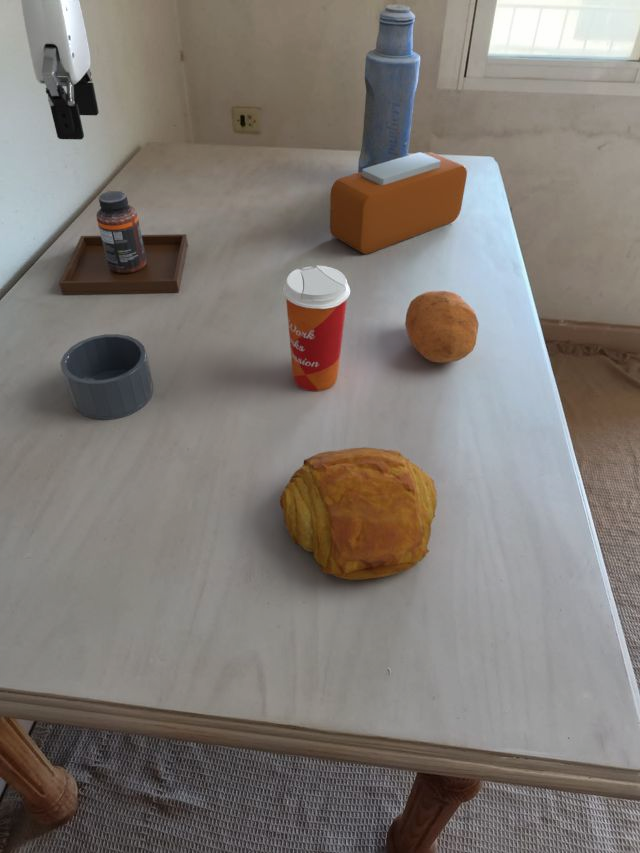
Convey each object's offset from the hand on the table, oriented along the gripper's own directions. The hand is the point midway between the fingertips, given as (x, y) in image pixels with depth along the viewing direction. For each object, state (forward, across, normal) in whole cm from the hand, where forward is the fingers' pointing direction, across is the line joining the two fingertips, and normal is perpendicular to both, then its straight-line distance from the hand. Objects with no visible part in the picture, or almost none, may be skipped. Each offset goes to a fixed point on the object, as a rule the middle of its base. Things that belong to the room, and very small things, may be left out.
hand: (79, 126), depth 83 cm
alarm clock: (+21, -14, +47) cm, 54 cm away
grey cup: (+22, +29, +5) cm, 37 cm away
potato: (+21, +23, +47) cm, 57 cm away
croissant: (+22, +52, +33) cm, 65 cm away
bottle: (+21, -34, +48) cm, 62 cm away
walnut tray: (+22, -2, +2) cm, 22 cm away
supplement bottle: (+22, -2, +2) cm, 22 cm away
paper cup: (+22, +28, +30) cm, 46 cm away
